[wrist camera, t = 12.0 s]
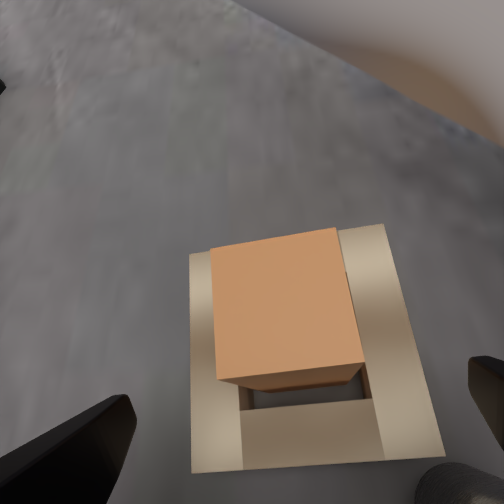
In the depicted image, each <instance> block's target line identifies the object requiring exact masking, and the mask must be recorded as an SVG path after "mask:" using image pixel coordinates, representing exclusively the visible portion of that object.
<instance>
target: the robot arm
mask: <svg viewBox="0 0 504 504" xmlns="http://www.w3.org/2000/svg"><path fill="white" fill-rule="evenodd" d="M468 387H469V391H470V394H471V396H472V398H473V400H474V401H475V403H476V405H477V407H478V408H479V410H480V412H481V414H482V415H483V417H484V419H485V421H486V422H487V424H488V426H489V428H490V429H491V431H492V433H493V435H494V436H495V438H496V440H497V441H498V443H499V445H500V446H501V448H502V449H503V451H504V361H502V360H499V359H496V358H493V357H490V356H476V357H471V358H470V359H469V361H468ZM136 425H137V417H136V414H135V411H134V409H133V406H132V404H131V401H130V399H129V397H128V395H126V394H121V395H113V396H111V397H109V398H107V399H105V400H104V401H102V402H100V403H98V404H96V405H95V406H93V407H91V408H89V409H87V410H85V411H84V412H82V413H80V414H78V415H76V416H75V417H73V418H71V419H69V420H67V421H66V422H64V423H62V424H60V425H58V426H57V427H55V428H53V429H51V430H49V431H48V432H46V433H44V434H42V435H40V436H39V437H37V438H35V439H33V440H31V441H29V442H28V443H26V444H24V445H22V446H20V447H19V448H17V449H15V450H13V451H11V452H10V453H8V454H6V455H4V456H2V457H1V458H0V504H106V503H107V501H108V499H109V497H110V495H111V493H112V490H113V488H114V486H115V484H116V482H117V479H118V477H119V474H120V472H121V469H122V467H123V464H124V461H125V458H126V455H127V452H128V449H129V446H130V444H131V441H132V438H133V435H134V432H135V429H136Z"/></svg>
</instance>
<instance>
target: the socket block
mask: <svg viewBox="0 0 504 504" xmlns="http://www.w3.org/2000/svg"><path fill="white" fill-rule="evenodd" d="M336 232H337V236H338V241H339V245H340V250H341V255H342V259H343V264H344V268H345V273H346V277H347V282H348V286H349V291H350V295H351V300H352V304H353V309H354V314H355V318H356V323H357V327H358V332H359V336H360V341H361V345H362V350H363V354H364V359H365V363H364V364H363V365H362V366H361V368H360V369H359V370H358V371H357V372H356V374H355V375H354V376H353V377H352V378H351V380H350V381H349V382H348V383H347V385H340V386H331V387H322V388H314V389H305V390H296V391H287V392H278V393H266V392H262V391H258V390H254V389H250V388H247V387H243V386H239V385H235V384H231V383H227V382H224V381H220V380H217V375H216V356H215V336H214V316H213V296H212V276H211V256H210V251H207V252H201V253H195V254H189V263H190V371H191V474H192V473H207V472H222V471H236V470H251V469H266V468H280V467H295V466H309V465H324V464H339V463H353V462H368V461H382V460H397V459H412V458H426V457H441V456H446V454H445V451H444V447H443V443H442V439H441V436H440V432H439V428H438V425H437V421H436V417H435V414H434V410H433V406H432V402H431V399H430V395H429V391H428V388H427V384H426V380H425V376H424V373H423V369H422V365H421V362H420V358H419V354H418V351H417V347H416V343H415V339H414V336H413V332H412V328H411V325H410V321H409V317H408V313H407V310H406V306H405V302H404V299H403V295H402V291H401V288H400V284H399V280H398V276H397V273H396V269H395V265H394V262H393V258H392V254H391V251H390V247H389V243H388V239H387V236H386V232H385V228H384V225H383V224H377V225H371V226H365V227H358V228H352V229H346V230H339V231H336Z"/></svg>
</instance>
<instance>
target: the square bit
mask: <svg viewBox="0 0 504 504" xmlns="http://www.w3.org/2000/svg"><path fill="white" fill-rule="evenodd" d="M210 256H211V276H212V296H213V316H214V336H215V356H216V375H217V380H220V381H224V382H227V383H231V384H235V385H239V386H243V387H247V388H250V389H254V390H258V391H262V392H266V393H278V392H287V391H296V390H305V389H314V388H322V387H331V386H340V385H347V383H348V382H349V381H350V380H351V378H352V377H353V376H354V375H355V374H356V372H357V371H358V370H359V369H360V368H361V366H362V365H363V364H364V363H365V359H364V354H363V350H362V345H361V341H360V336H359V332H358V327H357V323H356V318H355V314H354V309H353V304H352V300H351V295H350V291H349V286H348V282H347V277H346V273H345V268H344V264H343V259H342V255H341V250H340V245H339V241H338V236H337V232H336V227H334V228H328V229H322V230H316V231H311V232H305V233H299V234H293V235H287V236H282V237H276V238H270V239H264V240H258V241H252V242H247V243H241V244H235V245H229V246H223V247H218V248H212V249H210Z"/></svg>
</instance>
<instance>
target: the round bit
mask: <svg viewBox="0 0 504 504" xmlns="http://www.w3.org/2000/svg"><path fill="white" fill-rule="evenodd" d="M415 504H504V480H503V479H501V478H498V477H496V476H493V475H491V474H488V473H486V472H483V471H481V470H478V469H476V468H473V467H471V466H468V465H465V464H461V463H444V464H440V465H437V466H435V467H433V468H431V469H430V470H429V471H428V472H427V473H426V474H425V475H424V476H423V477H422V479H421V480H420V482H419V484H418V486H417V490H416V494H415Z"/></svg>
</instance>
